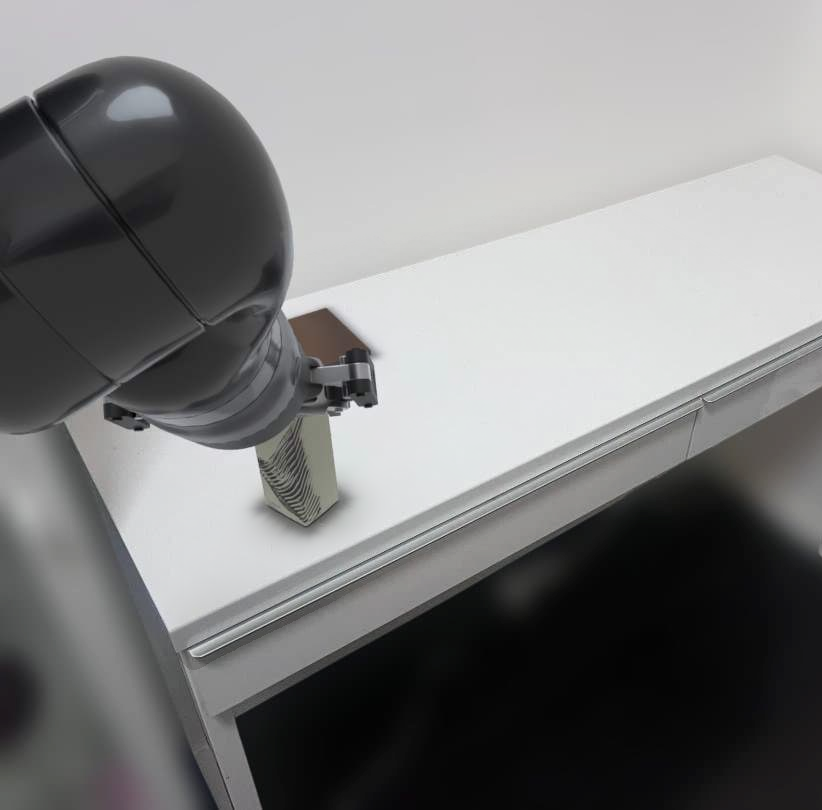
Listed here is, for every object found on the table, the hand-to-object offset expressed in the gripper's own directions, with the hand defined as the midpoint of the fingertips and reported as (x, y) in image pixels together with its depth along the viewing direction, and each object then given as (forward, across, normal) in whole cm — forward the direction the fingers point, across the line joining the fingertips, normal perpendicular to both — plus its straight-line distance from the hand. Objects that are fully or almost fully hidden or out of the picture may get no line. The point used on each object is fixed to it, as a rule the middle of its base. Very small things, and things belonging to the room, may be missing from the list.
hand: (267, 407), depth 53 cm
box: (+20, 0, +6) cm, 21 cm away
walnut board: (+36, +4, -11) cm, 38 cm away
